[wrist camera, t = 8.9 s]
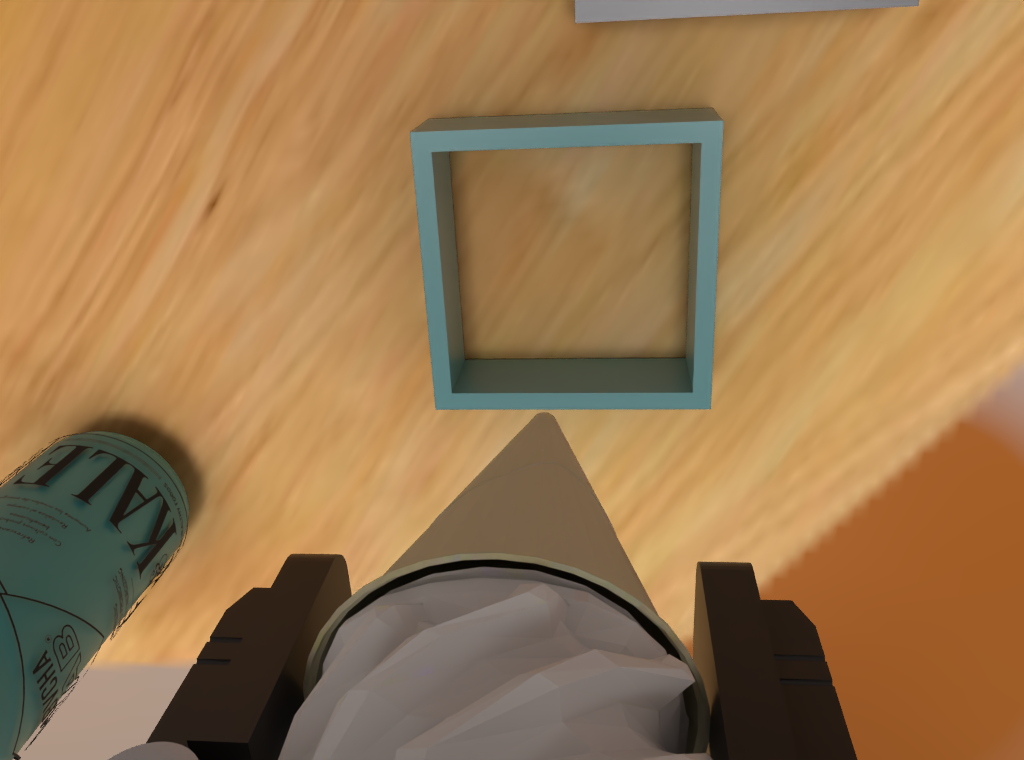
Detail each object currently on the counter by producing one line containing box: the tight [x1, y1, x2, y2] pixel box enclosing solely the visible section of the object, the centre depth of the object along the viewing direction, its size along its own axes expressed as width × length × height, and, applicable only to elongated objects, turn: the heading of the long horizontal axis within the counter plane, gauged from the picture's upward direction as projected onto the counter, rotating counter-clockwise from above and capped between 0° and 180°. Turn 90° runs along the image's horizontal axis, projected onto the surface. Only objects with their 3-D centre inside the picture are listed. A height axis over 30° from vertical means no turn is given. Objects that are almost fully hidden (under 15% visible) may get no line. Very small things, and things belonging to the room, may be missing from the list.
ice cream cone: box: [278, 412, 713, 760], centre depth 11 cm, size 5×5×15 cm
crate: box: [410, 108, 724, 410], centre depth 29 cm, size 9×9×3 cm
